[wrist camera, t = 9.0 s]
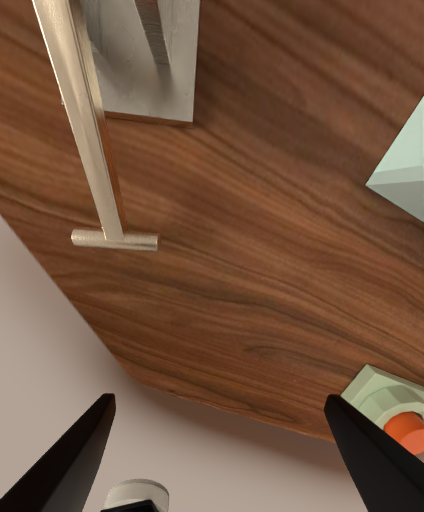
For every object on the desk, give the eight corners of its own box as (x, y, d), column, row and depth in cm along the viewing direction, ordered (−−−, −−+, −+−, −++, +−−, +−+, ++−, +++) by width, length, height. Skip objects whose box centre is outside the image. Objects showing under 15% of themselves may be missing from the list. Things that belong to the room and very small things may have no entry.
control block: (329, 408, 23) (348, 438, 20) (366, 363, 21) (393, 389, 18) (386, 427, 24) (411, 457, 21) (425, 387, 23) (458, 414, 20)
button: (375, 429, 20) (391, 450, 19) (398, 405, 19) (416, 425, 18) (400, 438, 21) (418, 458, 19) (423, 415, 20) (444, 435, 18)
